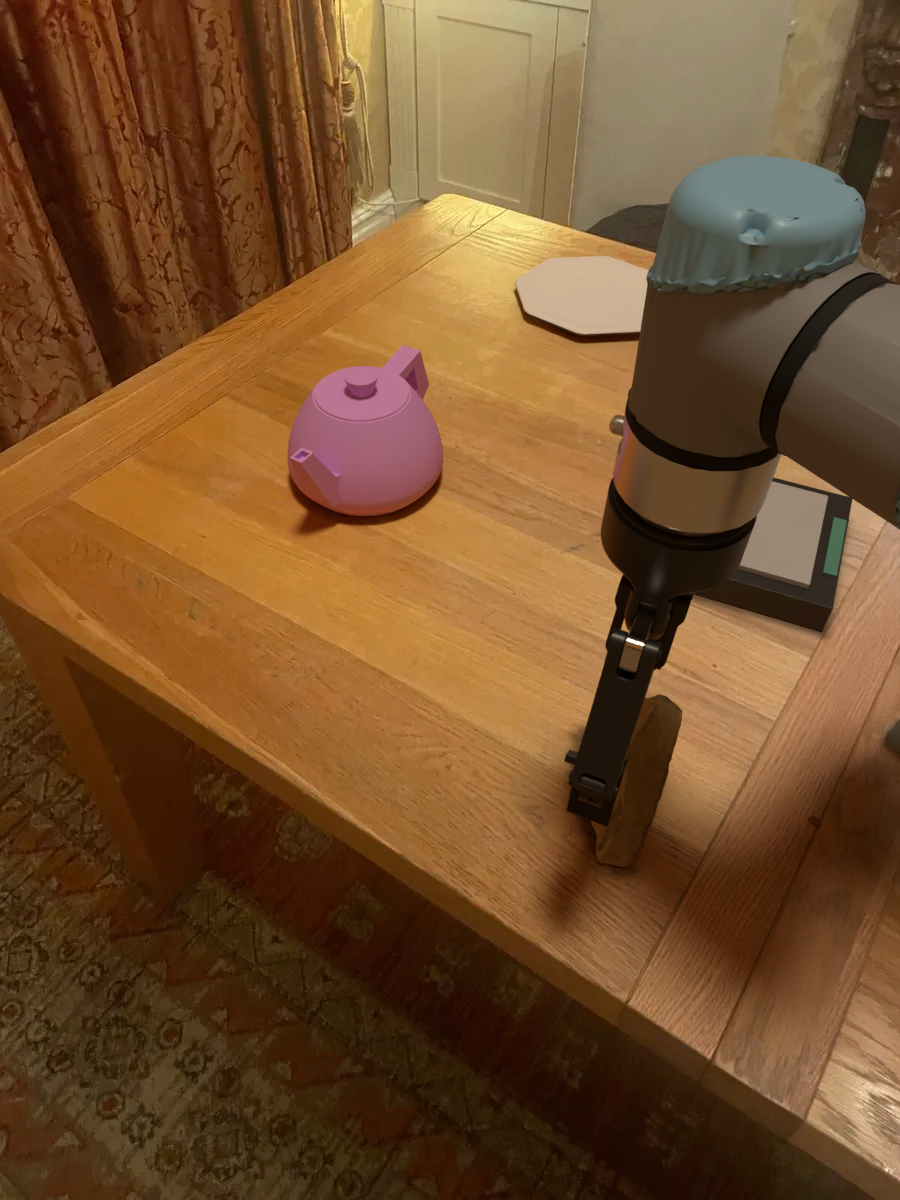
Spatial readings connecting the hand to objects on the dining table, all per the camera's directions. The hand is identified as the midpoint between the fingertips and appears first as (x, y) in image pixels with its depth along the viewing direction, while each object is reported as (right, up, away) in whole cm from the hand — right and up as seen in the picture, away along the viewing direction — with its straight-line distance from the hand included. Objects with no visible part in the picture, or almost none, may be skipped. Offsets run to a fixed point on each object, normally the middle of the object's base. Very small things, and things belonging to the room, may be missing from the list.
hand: (617, 732), depth 61 cm
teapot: (-20, +22, +32) cm, 43 cm away
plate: (+7, +48, +57) cm, 75 cm away
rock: (0, -6, +6) cm, 9 cm away
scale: (+17, +14, +25) cm, 33 cm away
